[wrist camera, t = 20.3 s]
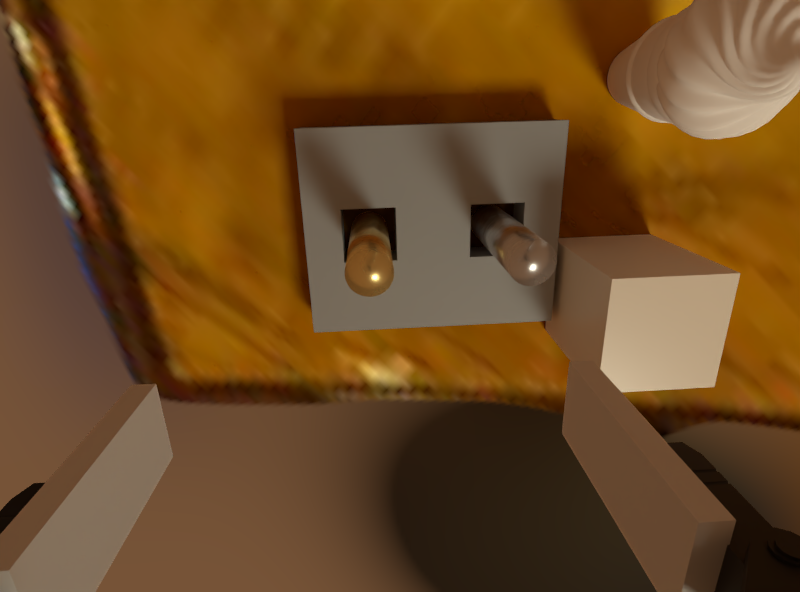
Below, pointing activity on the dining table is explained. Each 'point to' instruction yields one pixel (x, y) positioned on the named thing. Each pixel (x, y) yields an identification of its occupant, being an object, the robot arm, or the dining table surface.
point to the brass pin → (369, 256)
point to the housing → (641, 310)
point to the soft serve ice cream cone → (713, 67)
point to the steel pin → (514, 245)
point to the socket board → (429, 217)
